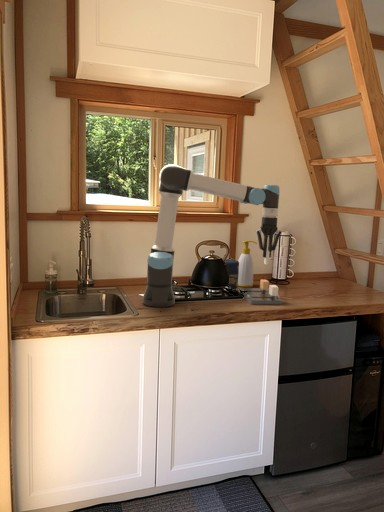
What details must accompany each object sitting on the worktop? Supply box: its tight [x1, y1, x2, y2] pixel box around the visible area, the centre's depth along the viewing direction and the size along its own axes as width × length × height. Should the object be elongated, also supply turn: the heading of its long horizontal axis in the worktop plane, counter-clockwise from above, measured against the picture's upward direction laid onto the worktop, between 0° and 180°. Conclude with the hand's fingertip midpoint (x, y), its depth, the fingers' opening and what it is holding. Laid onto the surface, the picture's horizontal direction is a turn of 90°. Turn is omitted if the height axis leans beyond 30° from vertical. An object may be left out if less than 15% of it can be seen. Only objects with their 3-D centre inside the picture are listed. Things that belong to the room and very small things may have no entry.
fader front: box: [268, 284, 279, 297], centre depth 218 cm, size 3×5×5 cm, turn 9°
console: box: [237, 287, 284, 306], centre depth 225 cm, size 16×26×3 cm, turn 9°
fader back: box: [259, 279, 270, 291], centre depth 231 cm, size 3×5×5 cm, turn 9°
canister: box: [224, 258, 239, 289], centre depth 234 cm, size 10×10×18 cm
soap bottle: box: [237, 240, 258, 288], centre depth 251 cm, size 11×12×26 cm
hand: (266, 263), depth 217 cm, fingers closed
